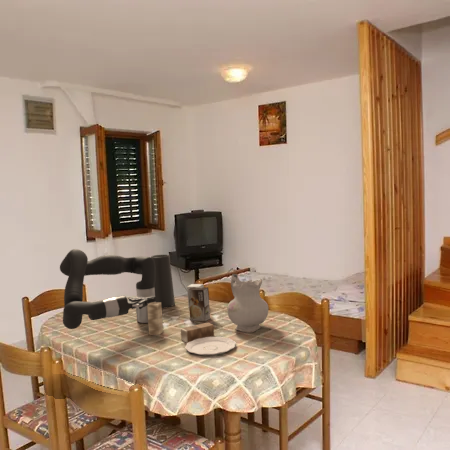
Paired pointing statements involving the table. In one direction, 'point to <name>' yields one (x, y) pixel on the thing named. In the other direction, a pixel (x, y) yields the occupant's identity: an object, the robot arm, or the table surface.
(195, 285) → the supplement box
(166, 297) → the vase
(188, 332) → the walnut block
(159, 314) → the birch block
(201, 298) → the coffee box
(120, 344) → the table surface
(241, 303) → the ceramic pitcher
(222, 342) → the plate
